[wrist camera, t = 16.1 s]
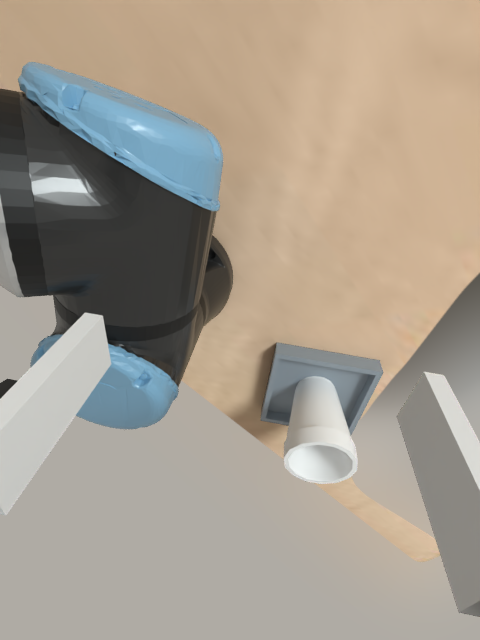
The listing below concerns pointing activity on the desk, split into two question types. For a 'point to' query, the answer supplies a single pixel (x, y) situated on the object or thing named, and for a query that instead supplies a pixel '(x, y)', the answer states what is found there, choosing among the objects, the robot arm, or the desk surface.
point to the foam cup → (319, 435)
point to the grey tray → (342, 370)
